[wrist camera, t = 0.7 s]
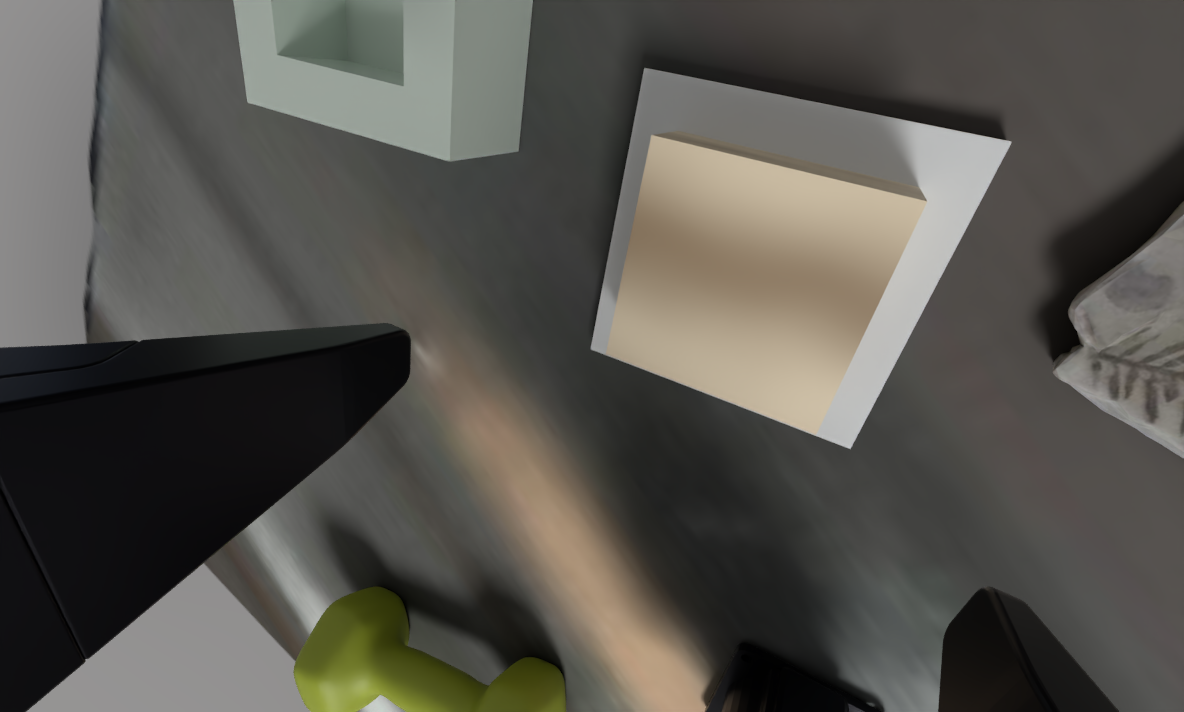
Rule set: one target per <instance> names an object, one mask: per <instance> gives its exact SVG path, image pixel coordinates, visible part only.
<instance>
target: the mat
mask: <svg viewBox="0 0 1184 712" xmlns="http://www.w3.org/2000/svg"><path fill="white" fill-rule="evenodd" d="M674 131H681V132H686V133H690V134H694V135H698V136H703V137H707V138H711V139H715V140H720V141H724V142H728V143H733V144H737V145H741V146H745V147H750V148H754V149H758V150H762V151H767V152H771V153H775V154H779V155H784V156H788V157H792V158H796V159H801V160H805V161H809V162H814V163H818V164H822V165H826V166H831V167H835V168H839V169H843V170H848V171H852V172H856V173H860V174H865V175H869V176H873V177H877V178H882V179H886V180H890V181H895V182H899V183H903V184H907V185H912V186H916V187H920V189H921V191H922V193H923V194H924V196H925V198H926V200H927V204H926V206H925V208H924V210H923V212H922V214H921V216H920V218H919V220H918V222H917V224H916V227H915V229H914V231H913V233H912V235H911V237H910V239H909V241H908V243H907V245H906V248H905V250H904V252H903V254H902V256H901V258H900V260H899V262H898V264H897V266H896V269H895V271H894V273H893V275H892V277H891V279H890V281H889V283H888V285H887V287H886V289H885V292H884V294H883V296H882V298H881V300H880V302H879V304H878V306H877V308H876V310H875V313H874V315H873V317H872V319H871V321H870V323H869V325H868V327H867V329H866V331H865V334H864V336H863V338H862V340H861V342H860V344H859V346H858V348H857V350H856V352H855V354H854V357H853V359H852V361H851V363H850V365H849V367H848V369H847V371H846V373H845V375H844V378H843V380H842V382H841V384H840V386H839V388H838V390H837V392H836V394H835V396H834V399H833V401H832V403H831V405H830V407H829V409H828V411H827V413H826V415H825V417H824V419H823V422H822V424H821V426H820V428H819V430H818V432H817V434H816V435H815V434H813V435H815V436H818V437H820V438H823V439H826V440H828V441H831V442H833V443H836V444H839V445H841V446H844V447H846V448H849V449H851V447H852V445H853V443H854V441H855V439H856V437H857V435H858V433H859V432H860V430H861V428H862V426H863V424H864V422H865V420H866V418H867V416H868V414H869V412H870V411H871V409H872V407H873V405H874V403H875V401H876V399H877V397H878V395H879V393H880V392H881V390H882V388H883V386H884V384H885V382H886V380H887V378H888V376H889V374H890V373H891V371H892V369H893V367H894V365H895V363H896V361H897V359H898V357H899V355H900V354H901V352H902V350H903V348H904V346H905V344H906V342H907V340H908V338H909V336H910V335H911V333H912V331H913V329H914V327H915V325H916V323H917V321H918V319H919V317H920V316H921V314H922V312H923V310H924V308H925V306H926V304H927V302H928V300H929V298H930V296H931V295H932V293H933V291H934V289H935V287H936V285H937V283H938V281H939V279H940V277H941V276H942V274H943V272H944V270H945V268H946V266H947V264H948V262H949V260H950V258H951V257H952V255H953V253H954V251H955V249H956V247H957V245H958V243H959V241H960V239H961V238H962V236H963V234H964V232H965V230H966V228H967V226H968V224H969V222H970V220H971V219H972V217H973V215H974V213H975V211H976V209H977V207H978V205H979V203H980V201H981V200H982V198H983V196H984V194H985V192H986V190H987V188H988V186H989V184H990V182H991V181H992V179H993V177H994V175H995V173H996V171H997V169H998V167H999V165H1000V163H1001V161H1002V160H1003V158H1004V156H1005V154H1006V152H1007V150H1008V148H1009V146H1010V144H1011V142H1010V141H1007V140H1002V139H997V138H992V137H987V136H982V135H977V134H972V133H967V132H962V131H957V130H952V129H947V128H942V127H937V126H932V125H928V124H923V123H918V122H913V121H908V120H903V119H898V118H893V117H888V116H883V115H878V114H873V113H868V112H863V111H858V110H853V109H848V108H843V107H838V106H833V105H828V104H823V103H818V102H813V101H808V100H803V99H798V98H793V97H788V96H783V95H778V94H773V93H768V92H763V91H758V90H753V89H749V88H744V87H739V86H734V85H729V84H724V83H719V82H714V81H709V80H704V79H699V78H694V77H689V76H684V75H679V74H674V73H669V72H664V71H659V70H654V69H648V68H644V72H643V78H642V83H641V88H640V93H639V99H638V104H637V109H636V114H635V119H634V125H633V130H632V135H631V140H630V146H629V151H628V156H627V161H626V166H625V172H624V177H623V182H622V187H621V193H620V198H619V203H618V208H617V213H616V219H615V224H614V229H613V234H612V240H611V245H610V250H609V255H608V260H607V266H606V271H605V276H604V281H603V287H602V292H601V297H600V302H599V307H598V313H597V318H596V323H595V328H594V334H593V339H592V344H591V350H594V351H596V352H599V353H602V354H604V355H606V350H607V346H608V341H609V336H610V331H611V327H612V322H613V317H614V312H615V307H616V303H617V298H618V293H619V288H620V283H621V279H622V274H623V269H624V264H625V260H626V255H627V250H628V245H629V240H630V236H631V231H632V226H633V221H634V216H635V212H636V207H637V202H638V197H639V193H640V188H641V183H642V178H643V173H644V169H645V164H646V159H647V154H648V149H649V145H650V140H651V135H655V134H661V133H667V132H674ZM607 356H609V355H607ZM609 357H612V356H609ZM612 358H614V357H612ZM615 359H617V358H615ZM617 360H619V359H617ZM620 361H622V360H620ZM622 362H625V361H622ZM625 363H627V362H625ZM628 364H630V363H628ZM630 365H632V364H630ZM633 366H635V365H633ZM635 367H638V366H635ZM638 368H640V367H638ZM641 369H643V368H641ZM643 370H645V369H643ZM646 371H648V370H646ZM648 372H651V371H648ZM651 373H653V372H651ZM654 374H656V373H654ZM656 375H658V374H656ZM659 376H661V375H659ZM662 377H664V376H662ZM664 378H666V377H664ZM667 379H669V378H667ZM669 380H671V379H669ZM672 381H674V380H672ZM675 382H677V381H675ZM677 383H679V382H677ZM680 384H682V383H680ZM682 385H685V384H682ZM685 386H687V385H685ZM688 387H690V386H688ZM690 388H692V387H690ZM693 389H695V388H693ZM695 390H698V389H695ZM698 391H700V390H698ZM701 392H703V391H701ZM703 393H705V392H703ZM706 394H708V393H706ZM708 395H711V394H708ZM711 396H713V395H711ZM714 397H716V396H714ZM716 398H718V397H716ZM719 399H721V398H719ZM721 400H724V399H721ZM724 401H726V400H724ZM727 402H729V401H727ZM729 403H731V402H729ZM732 404H734V403H732ZM734 405H737V404H734ZM737 406H739V405H737ZM740 407H742V406H740ZM742 408H744V407H742ZM745 409H747V408H745ZM747 410H750V409H747ZM750 411H752V410H750ZM753 412H755V411H753ZM755 413H758V412H755ZM758 414H760V413H758ZM760 415H763V414H760ZM763 416H765V415H763ZM766 417H768V416H766ZM768 418H771V417H768ZM771 419H773V418H771ZM773 420H776V419H773ZM776 421H778V420H776ZM779 422H781V421H779ZM781 423H784V422H781ZM784 424H786V423H784ZM787 425H789V424H787ZM789 426H791V425H789ZM792 427H794V426H792ZM794 428H797V427H794ZM797 429H799V428H797ZM800 430H802V429H800ZM802 431H804V430H802ZM805 432H807V431H805ZM807 433H810V432H807ZM810 434H812V433H810Z"/></svg>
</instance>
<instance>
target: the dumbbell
mask: <svg viewBox="0 0 1184 712" xmlns="http://www.w3.org/2000/svg"><path fill="white" fill-rule="evenodd" d="M408 641H409V624H408V618H407V614H406V610H405V607H404V604H403V602H402V600H401V599H400V597H399V596H398V595H396V594H395V593H393V592H392V591H389V590H387V589H385V588H382V587H377V586H376V587H370V588H366V589H362V590H360V591H357V592H354V593H352V594H349V595H347V596H344V597H342V598H340V599H338V600H336V601H335V602H334V603H332V604H331V605H330V606H329V607H328V608H327V609H326V611H325V612H324V613H323V615H322V616H321V618H320V619H319V621H318V623H317V624H316V626H315V628H314V629H313V631H312V633H311V634H310V636H309V638H308V639H307V641H306V643H305V644H304V646H303V648H302V650H301V651H300V653H299V655H298V657H297V660H296V662H295V666H294V678H295V681H296V685H297V687H298V690H299V693H300V695H301V697H302V700H303V702H304V704H305V705H306V707H307V708H308V709H309V710H310V711H311V712H357V711H358V710H360V709H362V708H363V707H365V706H366V705H368V704H369V703H371V702H372V701H373V700H375V699H376V698H377V697H378V696H379V695H382V696H384V697H386V698H387V699H389V700H390V701H391V702H393V703H394V704H395V705H397V706H398V707H400V708H401V709H403V710H405V711H406V712H566V695H565V682H564V678H563V675H562V673H561V672H560V670H559V669H558V668H557V667H556V666H554V665H552V664H550V663H548V662H546V661H544V660H541V659H539V658H534V657H525V658H523V659H520V660H519V661H517V662H515V663H514V664H513V665H511V666H510V667H509V668H508V669H506V670H505V671H504V672H503V673H502V674H500V675H499V676H498V677H497V678H496V679H495V680H494V681H493V682H492V683H491V684H490V685H489V686H488V685H485V684H482V683H481V682H479V681H477V680H476V679H475V678H473V677H472V676H470V675H469V674H467V673H465V672H463V671H461V670H459V669H457V668H455V667H453V666H451V665H449V664H447V663H445V662H443V661H441V660H439V659H437V658H435V657H433V656H431V655H429V654H427V653H424V652H422V651H420V650H417V649H414V648H411V647H408V646H407V645H408Z"/></svg>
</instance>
